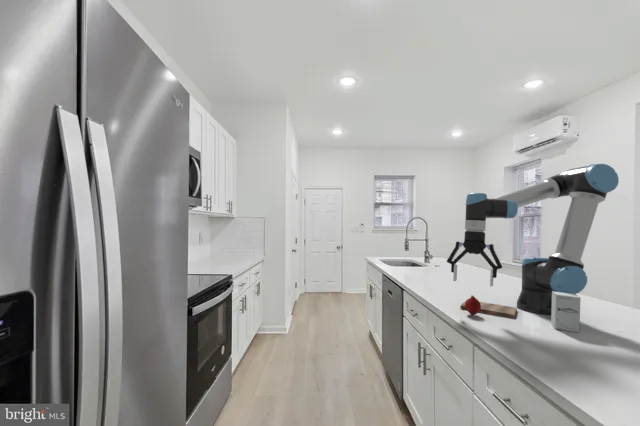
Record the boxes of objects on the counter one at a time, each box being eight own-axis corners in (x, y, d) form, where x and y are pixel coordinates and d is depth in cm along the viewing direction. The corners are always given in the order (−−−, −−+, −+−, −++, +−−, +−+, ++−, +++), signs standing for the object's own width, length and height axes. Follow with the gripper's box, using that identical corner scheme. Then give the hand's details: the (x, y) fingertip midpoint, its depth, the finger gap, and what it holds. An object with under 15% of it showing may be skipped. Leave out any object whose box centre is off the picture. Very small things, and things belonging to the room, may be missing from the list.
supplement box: (554, 329, 115) (555, 294, 116) (550, 323, 122) (551, 290, 122) (580, 333, 112) (581, 297, 112) (575, 327, 118) (575, 293, 119)
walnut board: (516, 311, 138) (516, 307, 138) (514, 318, 127) (514, 314, 127) (466, 302, 150) (466, 299, 150) (460, 308, 138) (460, 305, 138)
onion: (477, 313, 132) (477, 294, 132) (482, 317, 126) (483, 297, 126) (462, 312, 132) (463, 293, 133) (467, 316, 127) (468, 296, 127)
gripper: (440, 229, 134) (438, 279, 134) (509, 233, 120) (507, 289, 119) (445, 229, 140) (443, 277, 140) (511, 233, 126) (509, 286, 125)
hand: (472, 283), depth 130 cm, fingers open, 13 cm apart
